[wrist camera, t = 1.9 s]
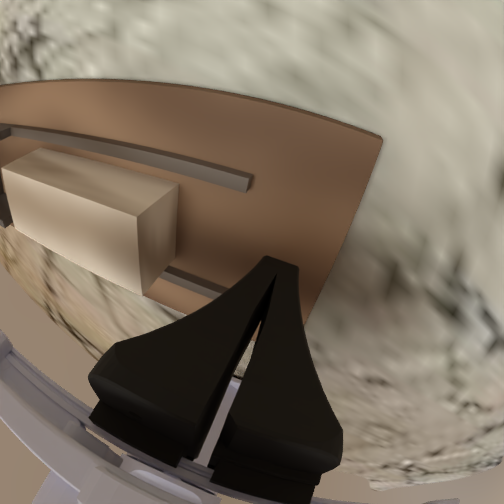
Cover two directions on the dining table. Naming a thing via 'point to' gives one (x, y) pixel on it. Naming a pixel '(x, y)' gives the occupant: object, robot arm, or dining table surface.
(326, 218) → the board
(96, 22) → the dining table surface
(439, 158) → the dining table surface
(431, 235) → the dining table surface
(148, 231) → the cream rectangular block
